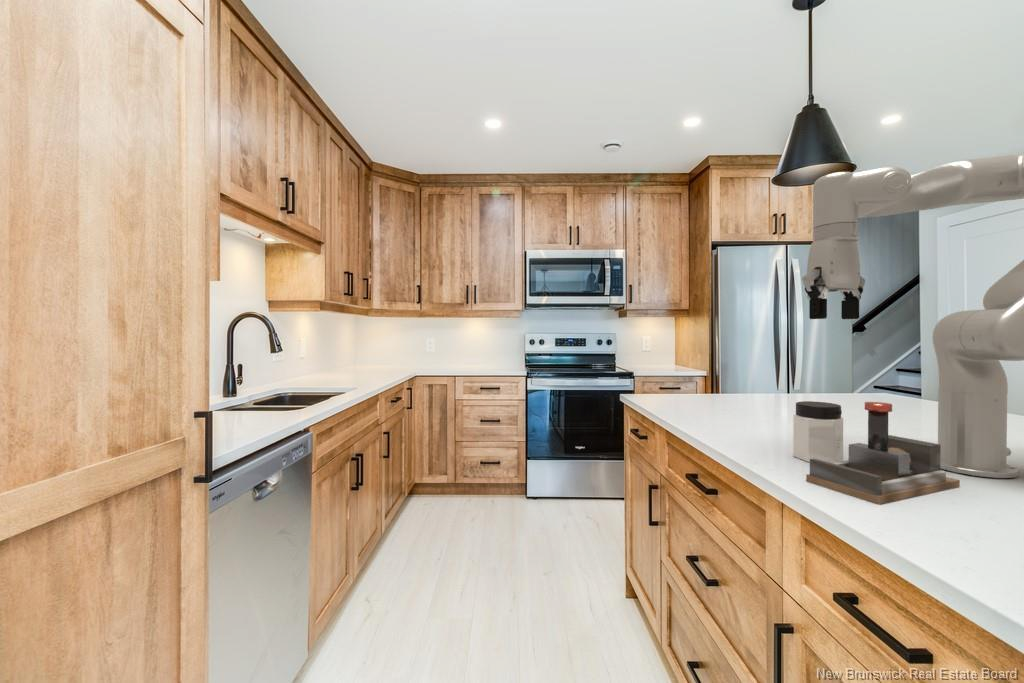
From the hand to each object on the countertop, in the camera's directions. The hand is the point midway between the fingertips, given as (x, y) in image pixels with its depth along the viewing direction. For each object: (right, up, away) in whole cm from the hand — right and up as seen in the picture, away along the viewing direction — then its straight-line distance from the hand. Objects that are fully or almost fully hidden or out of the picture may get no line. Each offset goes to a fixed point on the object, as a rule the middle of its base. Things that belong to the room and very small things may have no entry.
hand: (834, 318), depth 91 cm
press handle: (-1, -29, -11) cm, 31 cm away
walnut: (+4, -27, -10) cm, 29 cm away
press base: (0, -31, -11) cm, 32 cm away
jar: (0, -30, +5) cm, 31 cm away
